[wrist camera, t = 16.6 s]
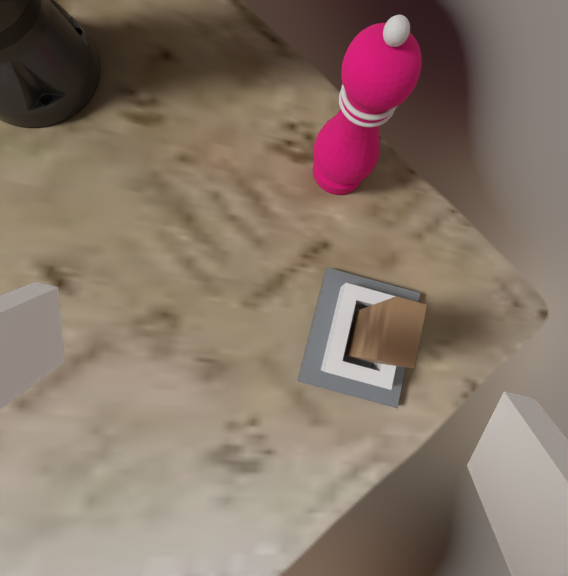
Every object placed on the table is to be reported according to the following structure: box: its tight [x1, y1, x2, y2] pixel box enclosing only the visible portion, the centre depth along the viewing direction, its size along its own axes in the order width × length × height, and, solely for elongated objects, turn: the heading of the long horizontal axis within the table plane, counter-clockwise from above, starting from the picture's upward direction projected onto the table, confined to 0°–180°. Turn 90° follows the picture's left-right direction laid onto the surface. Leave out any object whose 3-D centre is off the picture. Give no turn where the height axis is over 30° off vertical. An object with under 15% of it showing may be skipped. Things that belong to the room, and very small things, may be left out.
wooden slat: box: [345, 296, 427, 369], centre depth 32 cm, size 5×2×12 cm, turn 165°
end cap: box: [298, 268, 420, 408], centre depth 37 cm, size 13×11×4 cm
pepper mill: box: [313, 15, 421, 195], centre depth 32 cm, size 7×7×20 cm
